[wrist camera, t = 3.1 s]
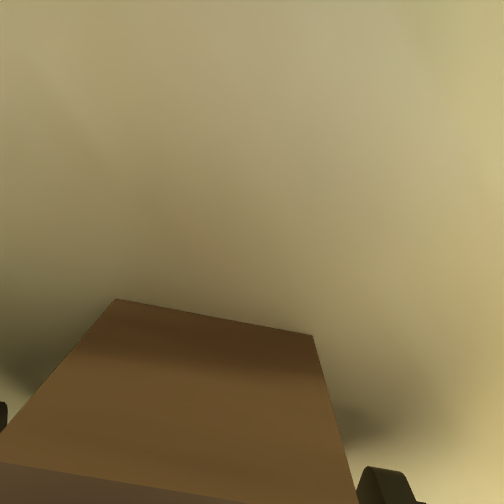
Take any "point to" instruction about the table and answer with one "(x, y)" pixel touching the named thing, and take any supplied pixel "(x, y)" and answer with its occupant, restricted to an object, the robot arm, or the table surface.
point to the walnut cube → (178, 418)
